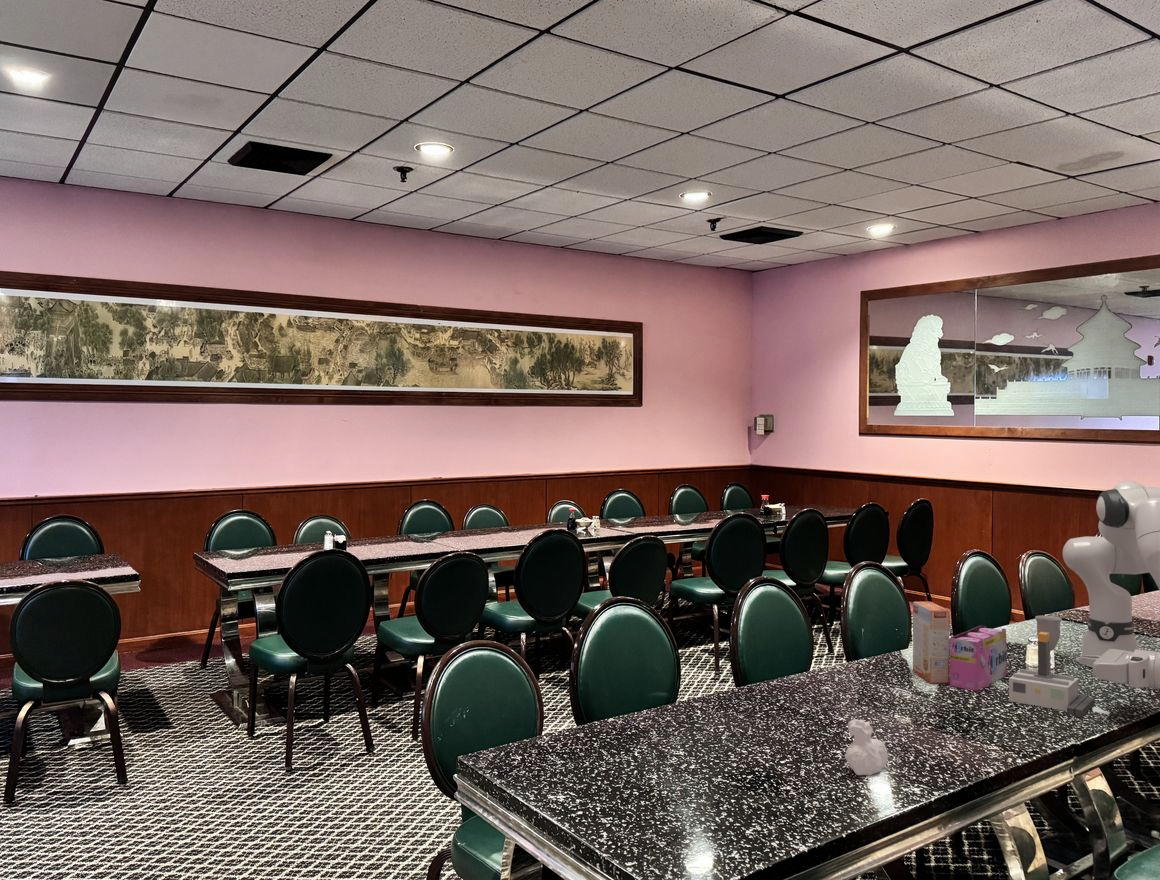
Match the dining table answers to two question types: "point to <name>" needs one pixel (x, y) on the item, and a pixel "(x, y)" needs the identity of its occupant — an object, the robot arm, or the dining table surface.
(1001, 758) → the dining table surface
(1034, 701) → the box
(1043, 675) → the breaker lever
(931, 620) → the cracker box
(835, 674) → the dining table surface
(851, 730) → the bust
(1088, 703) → the dark grey grooved bar
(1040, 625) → the chalice
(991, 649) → the gum box
